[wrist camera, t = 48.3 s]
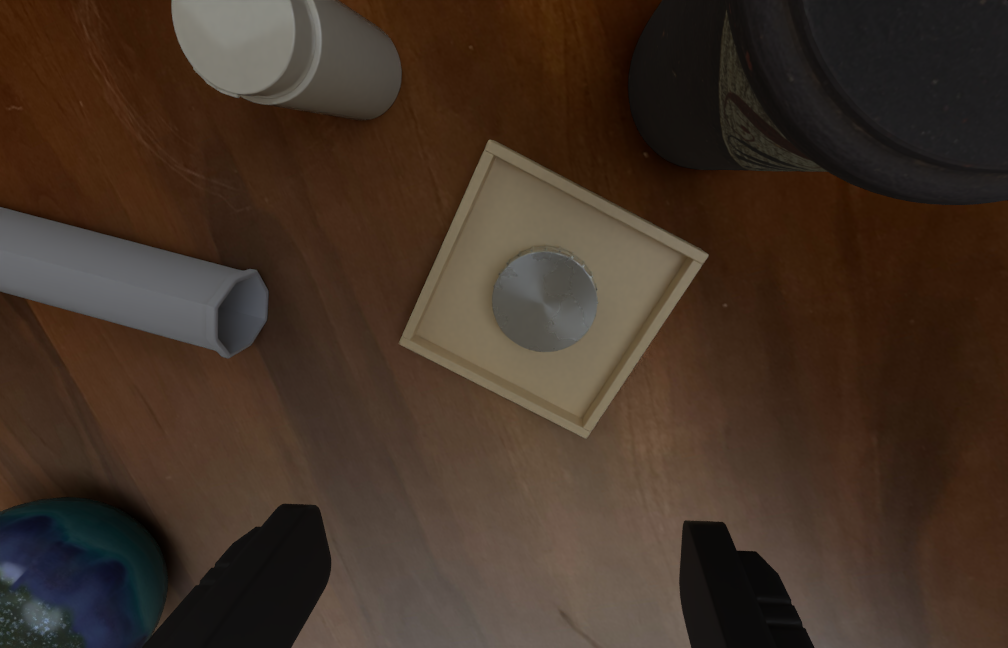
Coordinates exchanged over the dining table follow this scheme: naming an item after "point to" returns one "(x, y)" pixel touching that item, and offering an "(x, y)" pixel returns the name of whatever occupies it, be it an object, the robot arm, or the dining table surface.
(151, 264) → the tube
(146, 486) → the dining table surface
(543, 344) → the lid
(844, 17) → the container
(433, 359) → the tray
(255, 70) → the jar
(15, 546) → the vase
